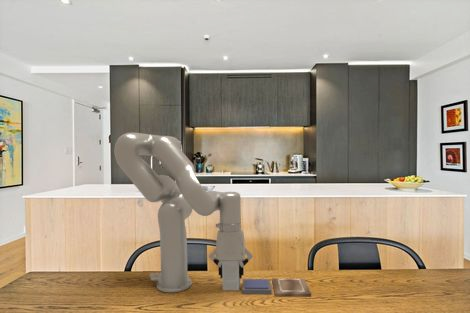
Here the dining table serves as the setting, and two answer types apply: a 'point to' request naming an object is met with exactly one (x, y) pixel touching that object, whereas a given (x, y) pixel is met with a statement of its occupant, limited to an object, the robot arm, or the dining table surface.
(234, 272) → the skincare box
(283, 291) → the marked board
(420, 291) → the dining table surface
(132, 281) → the dining table surface
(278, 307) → the dining table surface
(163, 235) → the robot arm
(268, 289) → the ink pad
